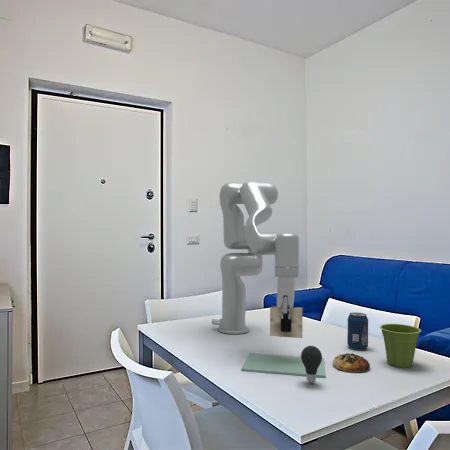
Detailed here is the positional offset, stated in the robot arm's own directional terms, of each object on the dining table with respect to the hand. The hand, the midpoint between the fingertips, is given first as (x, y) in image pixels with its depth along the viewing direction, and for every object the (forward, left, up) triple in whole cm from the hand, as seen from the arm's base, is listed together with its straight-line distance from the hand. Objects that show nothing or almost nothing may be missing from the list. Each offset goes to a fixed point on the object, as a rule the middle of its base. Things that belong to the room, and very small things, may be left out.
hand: (286, 329), depth 130 cm
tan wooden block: (0, 0, -2) cm, 2 cm away
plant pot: (+35, +5, -10) cm, 37 cm away
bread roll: (+19, -1, -10) cm, 22 cm away
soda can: (+24, +20, -10) cm, 33 cm away
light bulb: (+8, -18, -10) cm, 22 cm away
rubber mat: (0, -5, -10) cm, 11 cm away
